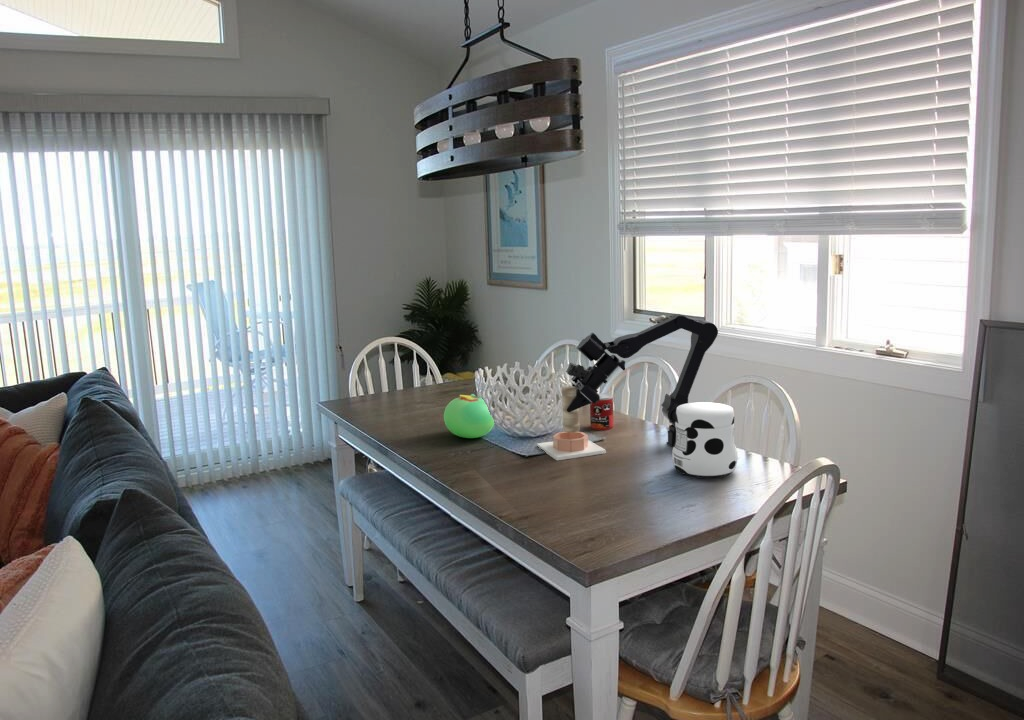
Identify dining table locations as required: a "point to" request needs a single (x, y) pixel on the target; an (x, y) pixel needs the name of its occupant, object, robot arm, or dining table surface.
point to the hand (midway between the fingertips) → (566, 409)
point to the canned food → (602, 412)
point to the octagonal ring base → (570, 446)
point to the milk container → (704, 440)
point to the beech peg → (571, 417)
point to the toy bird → (468, 417)
